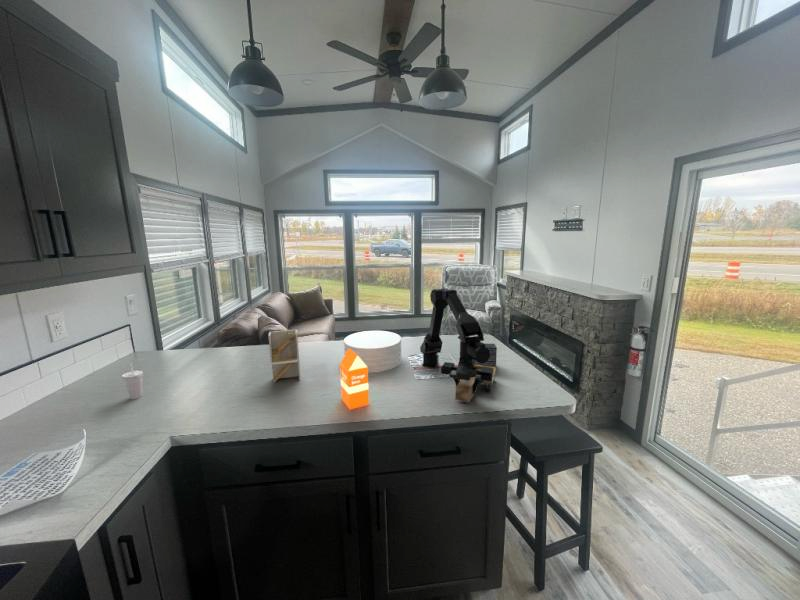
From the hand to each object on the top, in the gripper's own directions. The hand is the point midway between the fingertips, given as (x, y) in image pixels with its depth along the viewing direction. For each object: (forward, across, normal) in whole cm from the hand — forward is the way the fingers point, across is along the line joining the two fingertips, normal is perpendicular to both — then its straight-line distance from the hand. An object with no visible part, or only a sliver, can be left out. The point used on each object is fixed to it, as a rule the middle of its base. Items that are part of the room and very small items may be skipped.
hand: (466, 392), depth 124 cm
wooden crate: (+3, -76, -12) cm, 76 cm away
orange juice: (+2, -38, -18) cm, 42 cm away
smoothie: (+3, -120, -45) cm, 128 cm away
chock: (+1, 0, 0) cm, 1 cm away
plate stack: (+3, -50, +21) cm, 55 cm away
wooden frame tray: (+2, +4, +13) cm, 14 cm away
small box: (+3, +2, +33) cm, 33 cm away
